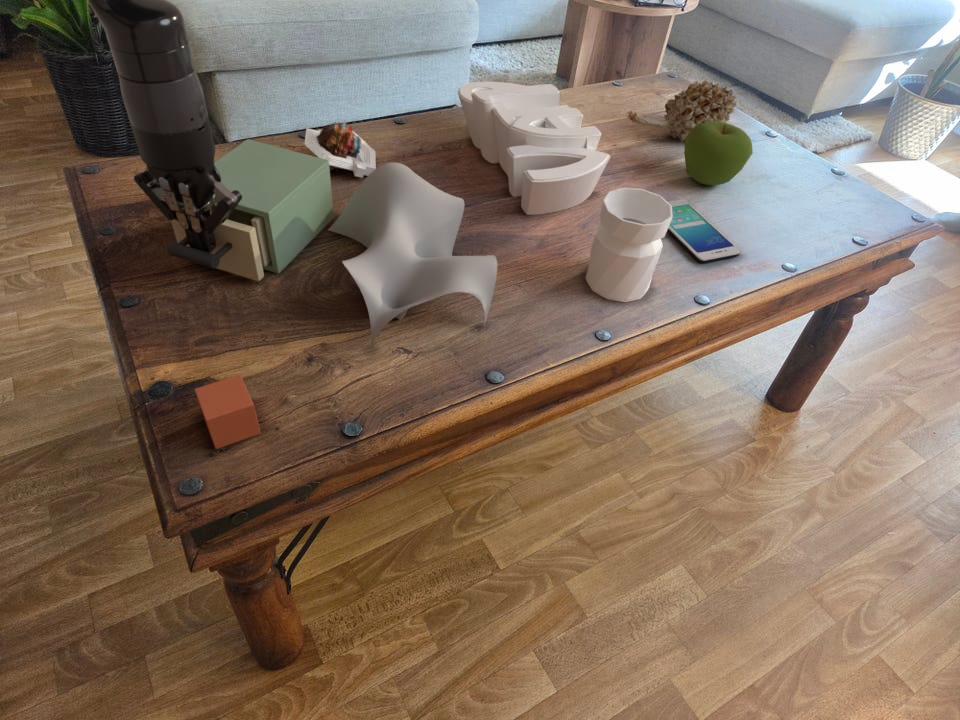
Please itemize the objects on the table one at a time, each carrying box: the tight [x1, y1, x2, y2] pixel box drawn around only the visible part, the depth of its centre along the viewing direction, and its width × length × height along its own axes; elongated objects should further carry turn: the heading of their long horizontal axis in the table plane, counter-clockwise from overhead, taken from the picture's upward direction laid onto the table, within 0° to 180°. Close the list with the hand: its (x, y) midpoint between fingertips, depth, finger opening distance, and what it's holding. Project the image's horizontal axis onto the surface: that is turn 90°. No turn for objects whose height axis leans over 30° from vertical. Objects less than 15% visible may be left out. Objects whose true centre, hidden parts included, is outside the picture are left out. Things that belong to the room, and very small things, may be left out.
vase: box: [585, 187, 673, 303], centre depth 85 cm, size 9×9×12 cm
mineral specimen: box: [304, 121, 377, 179], centre depth 104 cm, size 12×12×7 cm
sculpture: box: [327, 162, 498, 348], centre depth 84 cm, size 25×19×10 cm
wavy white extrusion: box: [457, 81, 612, 216], centre depth 106 cm, size 35×16×10 cm, turn 18°
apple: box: [683, 121, 754, 187], centre depth 108 cm, size 11×10×10 cm
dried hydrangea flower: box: [625, 80, 737, 142], centre depth 119 cm, size 22×10×10 cm, turn 115°
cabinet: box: [213, 138, 335, 275], centre depth 88 cm, size 15×13×9 cm
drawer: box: [167, 204, 271, 282], centre depth 84 cm, size 18×11×7 cm, turn 160°
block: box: [194, 374, 261, 450], centre depth 66 cm, size 4×4×4 cm
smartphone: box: [666, 199, 741, 264], centre depth 100 cm, size 8×1×15 cm
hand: (204, 252), depth 80 cm, fingers closed
